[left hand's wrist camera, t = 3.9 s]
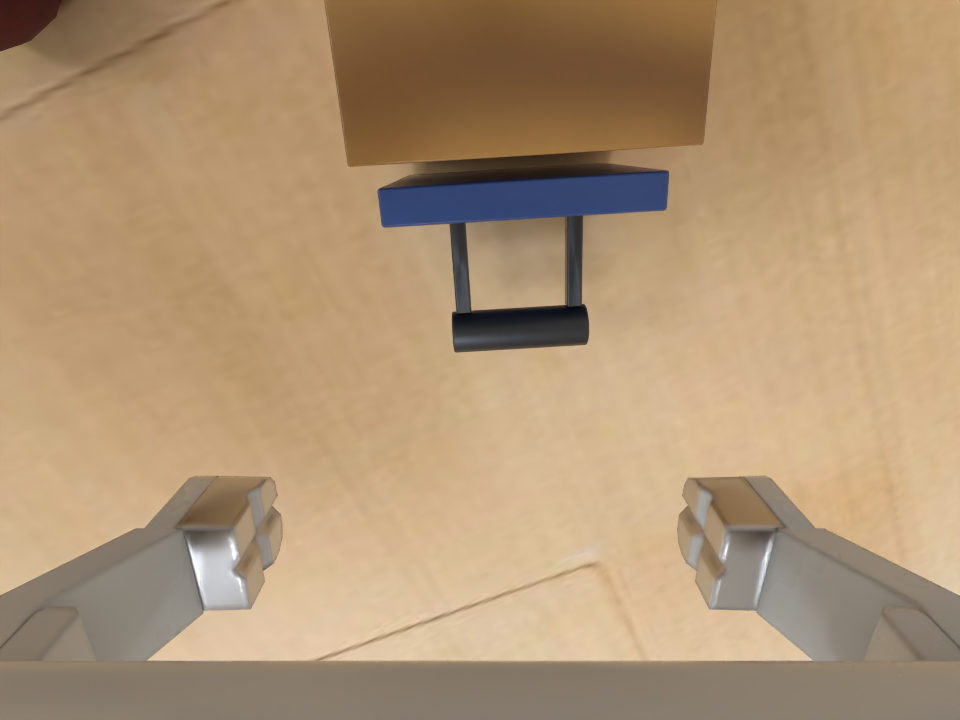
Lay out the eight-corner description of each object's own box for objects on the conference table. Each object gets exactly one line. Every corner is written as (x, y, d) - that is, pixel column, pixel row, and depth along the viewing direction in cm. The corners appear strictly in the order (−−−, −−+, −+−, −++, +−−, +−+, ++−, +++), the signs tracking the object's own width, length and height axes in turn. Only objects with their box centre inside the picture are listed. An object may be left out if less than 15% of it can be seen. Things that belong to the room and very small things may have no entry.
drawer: (601, 308, 27) (655, 376, 19) (422, 319, 27) (402, 391, 19) (615, -195, 20) (713, -428, 12) (371, -178, 20) (303, -398, 12)
